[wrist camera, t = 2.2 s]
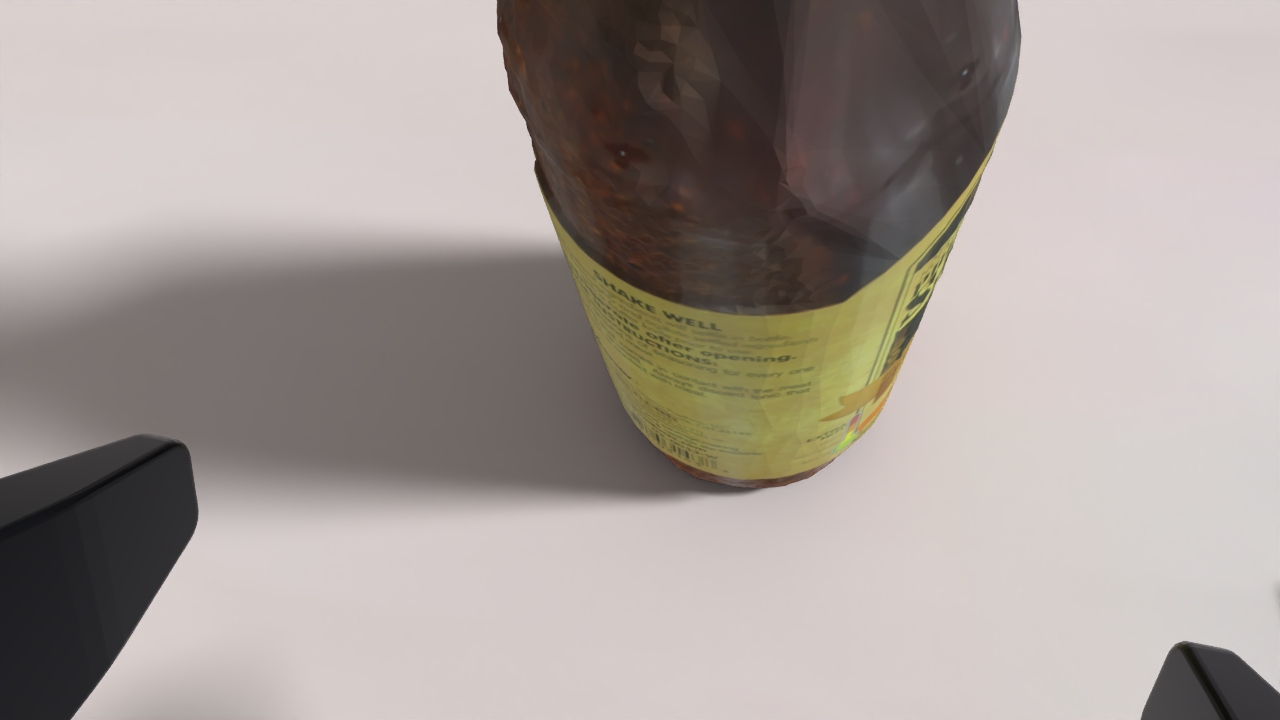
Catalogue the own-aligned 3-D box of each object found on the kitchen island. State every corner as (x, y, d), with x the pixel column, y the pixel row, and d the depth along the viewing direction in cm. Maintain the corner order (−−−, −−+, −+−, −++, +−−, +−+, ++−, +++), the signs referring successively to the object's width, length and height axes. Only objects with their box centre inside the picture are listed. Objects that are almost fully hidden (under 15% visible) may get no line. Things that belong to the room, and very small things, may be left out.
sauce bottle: (911, 477, 22) (1875, -682, 3) (631, 516, 23) (124, -362, 4) (854, 213, 24) (1265, -1400, 6) (599, 251, 25) (171, -1164, 6)
